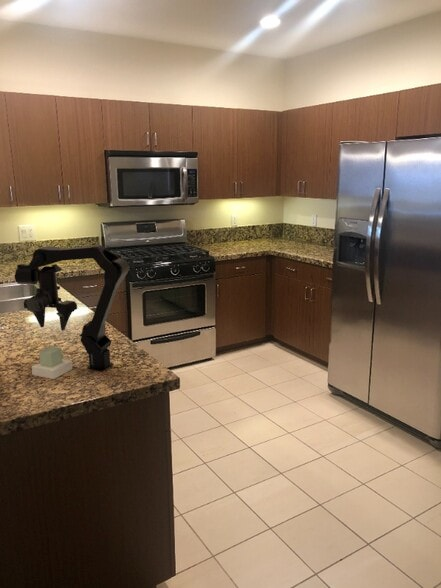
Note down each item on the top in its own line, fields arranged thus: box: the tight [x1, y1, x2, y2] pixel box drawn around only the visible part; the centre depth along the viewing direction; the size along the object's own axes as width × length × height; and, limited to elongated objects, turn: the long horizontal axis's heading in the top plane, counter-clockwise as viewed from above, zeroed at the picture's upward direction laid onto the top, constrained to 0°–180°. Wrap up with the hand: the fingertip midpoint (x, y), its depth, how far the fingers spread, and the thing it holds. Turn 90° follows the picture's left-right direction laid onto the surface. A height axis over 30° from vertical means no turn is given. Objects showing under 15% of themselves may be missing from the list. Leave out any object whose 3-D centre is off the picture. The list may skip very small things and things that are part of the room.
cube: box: [38, 345, 63, 367], centre depth 158 cm, size 5×5×5 cm
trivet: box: [31, 359, 73, 380], centre depth 159 cm, size 9×9×3 cm
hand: (52, 328), depth 163 cm, fingers open, 9 cm apart
